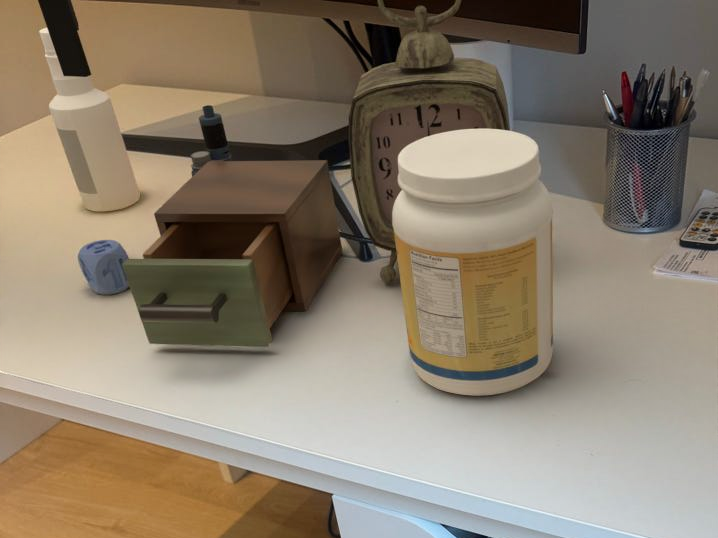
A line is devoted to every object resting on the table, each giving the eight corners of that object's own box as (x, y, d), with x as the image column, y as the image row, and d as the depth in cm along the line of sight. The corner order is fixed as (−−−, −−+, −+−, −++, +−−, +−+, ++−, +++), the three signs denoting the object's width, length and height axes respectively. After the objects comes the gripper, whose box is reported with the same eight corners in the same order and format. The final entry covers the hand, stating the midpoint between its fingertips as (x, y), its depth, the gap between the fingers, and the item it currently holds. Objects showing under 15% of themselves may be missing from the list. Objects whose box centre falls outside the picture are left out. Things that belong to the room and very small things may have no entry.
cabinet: (305, 311, 87) (285, 213, 80) (182, 309, 88) (153, 213, 82) (342, 252, 96) (327, 160, 89) (231, 251, 98) (208, 161, 91)
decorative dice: (102, 298, 91) (88, 259, 88) (87, 286, 94) (72, 247, 91) (139, 285, 93) (126, 246, 90) (123, 274, 95) (110, 235, 92)
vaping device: (252, 222, 103) (224, 104, 95) (219, 239, 100) (188, 119, 92) (236, 218, 104) (207, 102, 96) (203, 235, 101) (170, 116, 93)
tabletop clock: (368, 292, 89) (321, -18, 71) (377, 254, 95) (335, -40, 77) (516, 284, 88) (505, -32, 70) (514, 246, 94) (504, -52, 76)
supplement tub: (446, 323, 83) (427, 119, 71) (572, 340, 79) (575, 128, 67) (387, 389, 75) (354, 174, 63) (523, 412, 72) (516, 187, 60)
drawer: (253, 369, 77) (231, 286, 72) (130, 365, 79) (100, 284, 74) (309, 284, 89) (293, 207, 83) (200, 283, 90) (178, 207, 85)
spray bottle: (106, 190, 114) (49, 20, 101) (152, 193, 112) (99, 21, 99) (72, 210, 109) (8, 36, 97) (119, 214, 108) (60, 37, 95)
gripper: (-201, -221, 57) (-42, 145, 72) (60, -244, 73) (145, 60, 88) (-281, -214, 59) (-110, 139, 74) (-12, -237, 75) (84, 58, 90)
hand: (28, 97), depth 81 cm, fingers open, 13 cm apart
